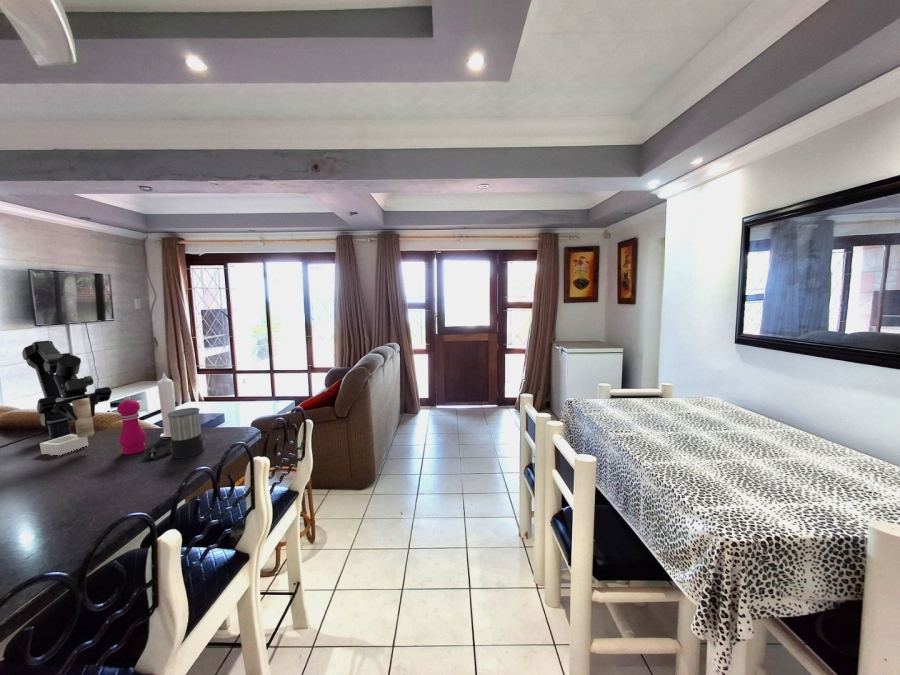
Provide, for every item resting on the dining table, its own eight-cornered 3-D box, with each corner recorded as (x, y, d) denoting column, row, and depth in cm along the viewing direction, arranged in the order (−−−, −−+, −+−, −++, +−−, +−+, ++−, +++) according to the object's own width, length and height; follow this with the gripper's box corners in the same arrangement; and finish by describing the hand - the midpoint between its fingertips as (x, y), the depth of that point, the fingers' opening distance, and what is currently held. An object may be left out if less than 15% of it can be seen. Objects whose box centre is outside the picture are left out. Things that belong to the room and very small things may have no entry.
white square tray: (41, 454, 132) (39, 443, 131) (72, 444, 140) (70, 434, 140) (58, 456, 129) (56, 445, 129) (88, 445, 138) (87, 435, 137)
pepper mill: (153, 447, 134) (145, 393, 132) (134, 455, 127) (126, 399, 125) (135, 446, 135) (127, 393, 133) (115, 455, 128) (107, 399, 126)
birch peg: (74, 437, 131) (68, 401, 129) (89, 432, 135) (83, 397, 133) (82, 438, 130) (77, 401, 128) (97, 433, 134) (92, 398, 132)
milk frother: (207, 452, 128) (203, 410, 127) (150, 468, 117) (144, 423, 115) (196, 442, 138) (192, 403, 136) (142, 456, 126) (136, 414, 125)
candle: (186, 432, 148) (179, 371, 145) (168, 439, 142) (160, 375, 139) (174, 431, 151) (166, 370, 148) (155, 437, 144) (147, 374, 141)
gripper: (33, 375, 124) (49, 411, 119) (106, 365, 140) (122, 397, 135) (30, 396, 128) (45, 431, 124) (100, 384, 144) (116, 415, 140)
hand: (84, 417), depth 131 cm, fingers closed on birch peg, 4 cm apart
